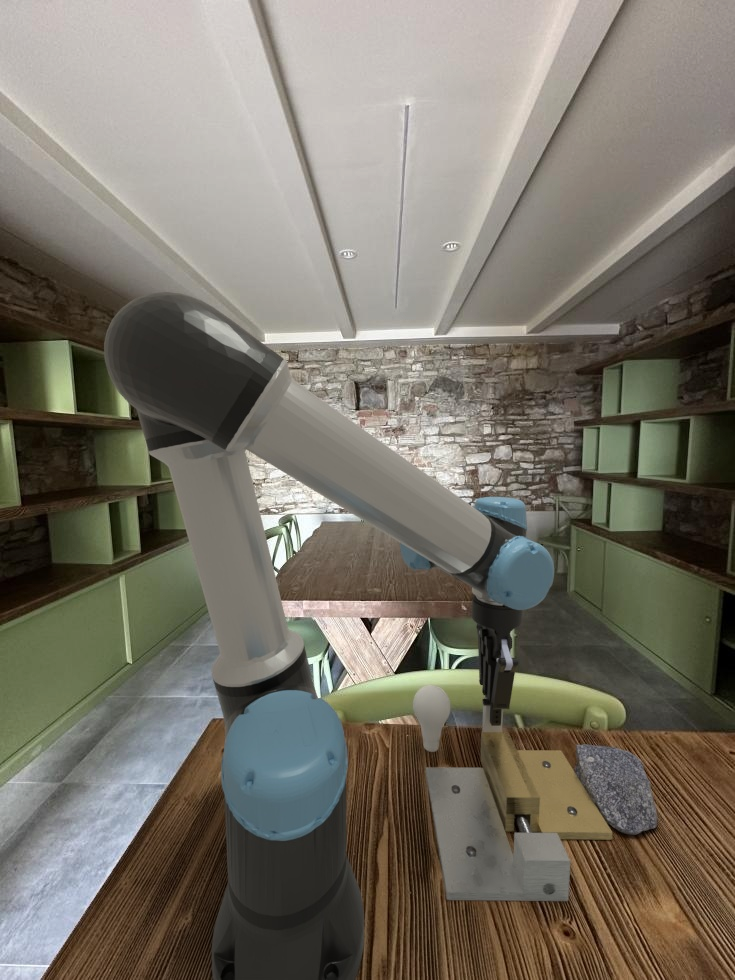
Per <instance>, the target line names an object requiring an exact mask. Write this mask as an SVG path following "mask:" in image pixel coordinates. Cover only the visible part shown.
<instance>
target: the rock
mask: <svg viewBox="0 0 735 980" xmlns="http://www.w3.org/2000/svg"><path fill="white" fill-rule="evenodd" d="M575 758H576V763H577V764H576V765H575V766H574V772H575V774H576V775H577V777H578V778H579V780H580V781H581V783H582V785H583V786H584V788H585V789H586V791H587V793H588V794H589V796H590V797H591V799H592V801H593V802H594V804H595V805H596V807H597V809H598V810H599V812H600V813H601V815H602V817H603V818H604V820H605V821H606V823H607V825H610V826H611V827H613V829H615V830H617V832H621V833H622V834H627V835H633V836H635V835H636V836H637V835H638V834H640V833H642V832H645V831H646V832H647V831H649V830H653V829H655V828H657V826H658V814H657V809H656V808H657V807H656V803H655V799H654V797H653V793H652V786H651V781H650V779H649V778H648V776H647V774H646V771H645V766H644V764H643V761H642V760H641V759H640V758H638V756H636V755H635V754H633V753H632V752H631V751H628V750H626V749H625V750H624V749H622V748H618V747H614V746H613V747H612V746H603V745H591V744H586V743H585V744H584V743H583V744H576V746H575Z"/></svg>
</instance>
